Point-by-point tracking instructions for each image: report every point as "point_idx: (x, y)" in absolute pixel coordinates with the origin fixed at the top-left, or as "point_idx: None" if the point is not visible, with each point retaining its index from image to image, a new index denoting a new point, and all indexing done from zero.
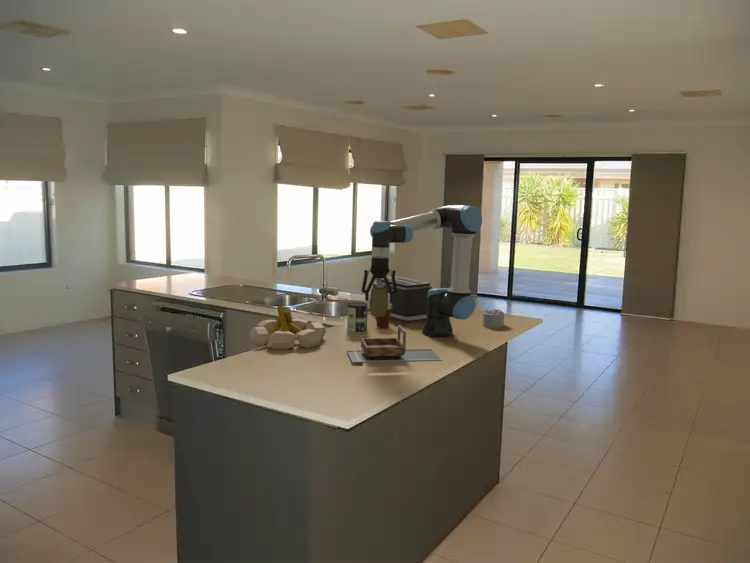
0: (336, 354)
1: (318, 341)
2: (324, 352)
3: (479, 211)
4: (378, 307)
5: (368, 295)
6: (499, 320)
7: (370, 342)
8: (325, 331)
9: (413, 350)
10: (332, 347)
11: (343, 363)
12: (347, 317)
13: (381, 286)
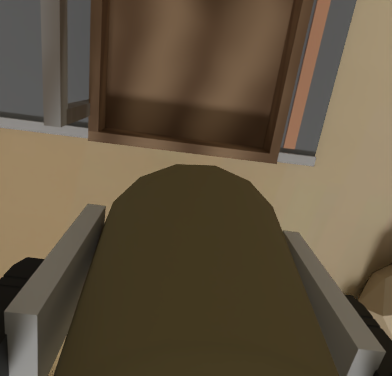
0: (354, 153)
1: (387, 274)
2: (385, 189)
3: None
4: (221, 176)
5: (373, 335)
6: None
7: (228, 145)
8: None
9: (25, 114)
10: (329, 248)
11: (384, 8)
12: None
13: None
